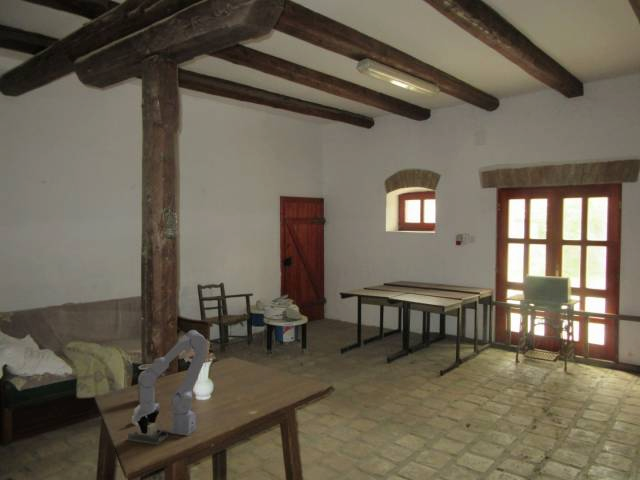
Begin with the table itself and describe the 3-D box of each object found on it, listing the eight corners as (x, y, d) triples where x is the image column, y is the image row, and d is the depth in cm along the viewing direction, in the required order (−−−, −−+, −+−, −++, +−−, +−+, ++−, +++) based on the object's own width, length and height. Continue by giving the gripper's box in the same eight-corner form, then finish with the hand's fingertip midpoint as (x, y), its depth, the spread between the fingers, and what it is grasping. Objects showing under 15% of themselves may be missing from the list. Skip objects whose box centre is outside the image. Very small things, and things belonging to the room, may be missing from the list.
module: (157, 434, 204) (156, 423, 204) (151, 439, 201) (151, 427, 200) (142, 432, 206) (142, 421, 206) (137, 436, 202) (136, 425, 202)
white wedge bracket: (156, 413, 223) (147, 400, 219) (139, 429, 217) (129, 416, 213) (151, 410, 225) (142, 398, 222) (134, 427, 219) (125, 414, 215)
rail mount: (168, 436, 205) (168, 430, 205) (157, 444, 198) (157, 438, 198) (138, 432, 209) (138, 426, 209) (127, 439, 202) (127, 434, 202)
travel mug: (134, 402, 242) (134, 367, 240) (147, 396, 249) (146, 363, 248) (146, 405, 238) (145, 370, 237) (158, 399, 245) (157, 365, 244)
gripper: (149, 392, 210) (150, 422, 211) (127, 404, 196) (128, 436, 197) (163, 393, 209) (163, 424, 209) (142, 406, 195) (143, 439, 195)
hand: (147, 430), depth 203 cm, fingers open, 4 cm apart
